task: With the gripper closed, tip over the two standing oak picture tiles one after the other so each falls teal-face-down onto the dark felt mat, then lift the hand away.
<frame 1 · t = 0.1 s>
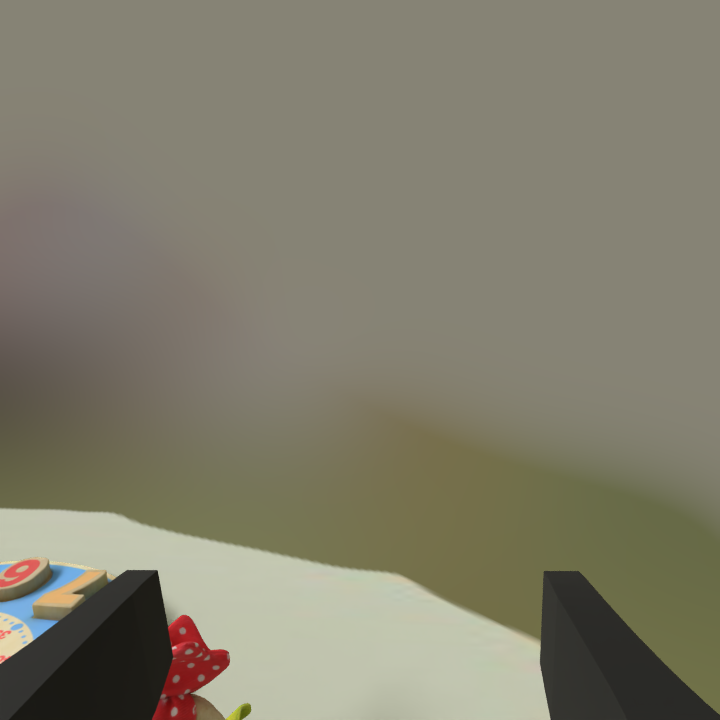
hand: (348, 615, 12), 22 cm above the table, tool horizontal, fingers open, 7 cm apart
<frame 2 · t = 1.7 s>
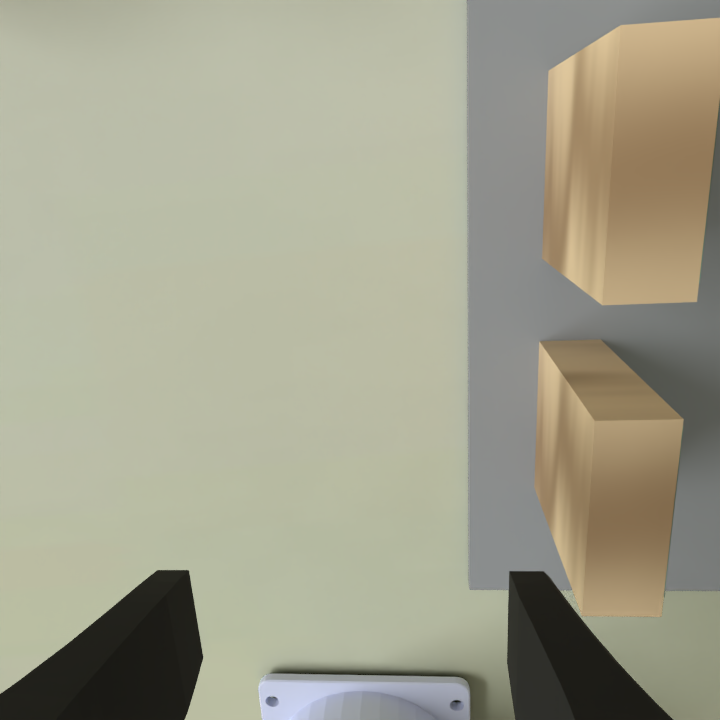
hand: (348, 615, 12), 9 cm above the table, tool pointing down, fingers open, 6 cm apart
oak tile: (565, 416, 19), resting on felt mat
felt mat: (704, 316, 19), on the table
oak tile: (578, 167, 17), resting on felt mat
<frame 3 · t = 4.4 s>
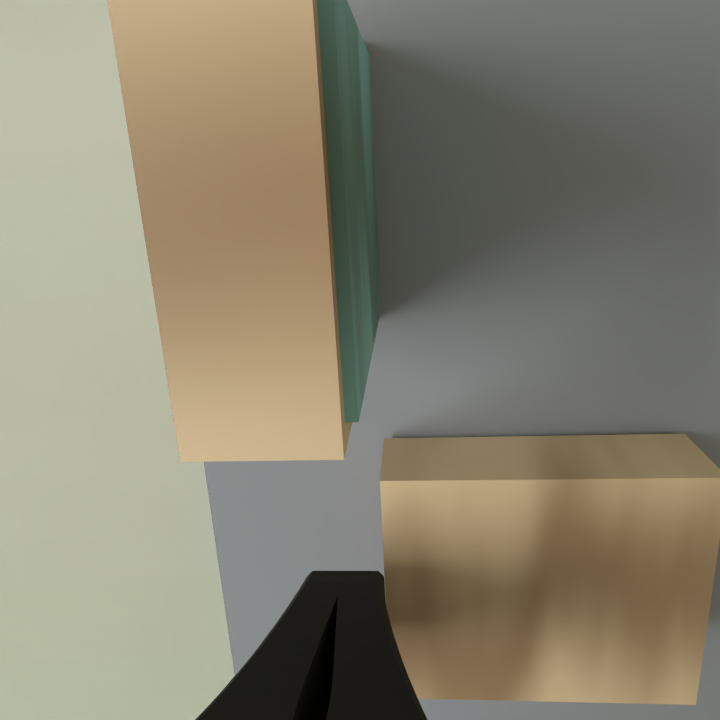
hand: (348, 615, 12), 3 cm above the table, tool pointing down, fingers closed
felt mat: (527, 403, 13), on the table
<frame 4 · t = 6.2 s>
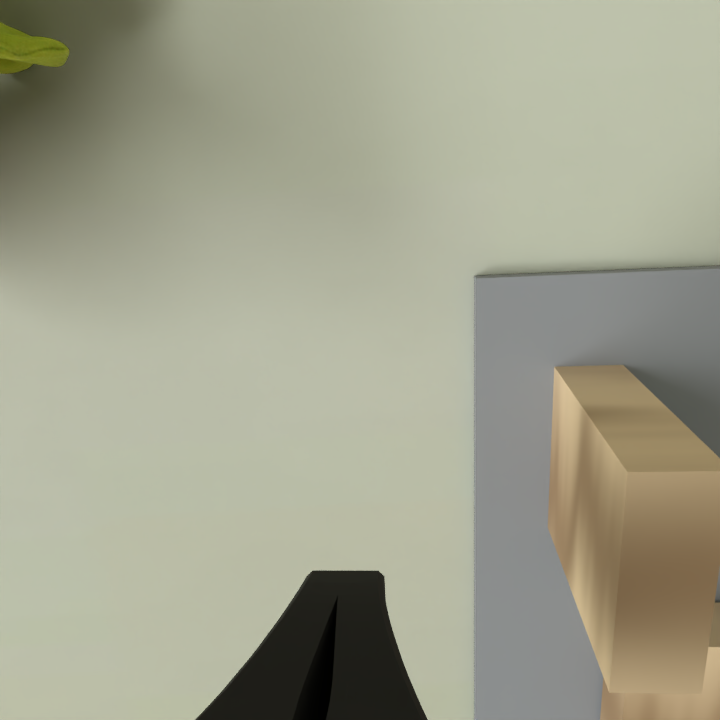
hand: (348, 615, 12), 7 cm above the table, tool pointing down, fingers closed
felt mat: (707, 576, 19), on the table
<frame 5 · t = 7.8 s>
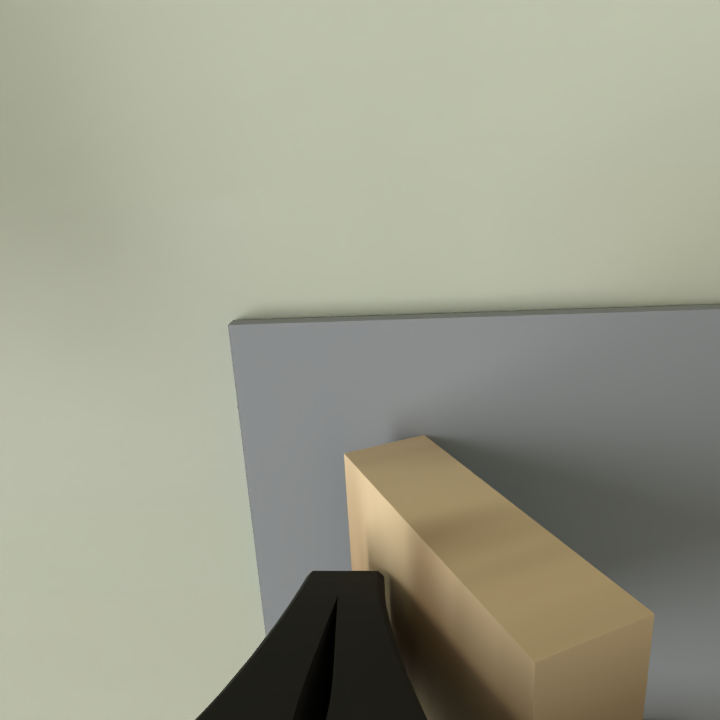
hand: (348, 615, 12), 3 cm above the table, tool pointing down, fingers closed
felt mat: (556, 686, 15), on the table
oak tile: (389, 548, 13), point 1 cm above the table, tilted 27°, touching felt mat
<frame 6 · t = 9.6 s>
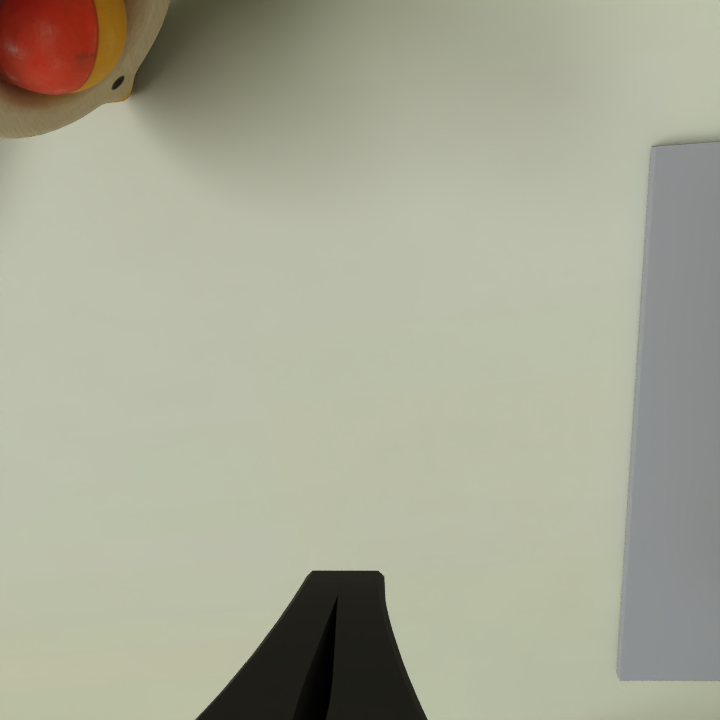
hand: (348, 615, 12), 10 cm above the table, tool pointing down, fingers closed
bird rattle: (155, 3, 18), on the table
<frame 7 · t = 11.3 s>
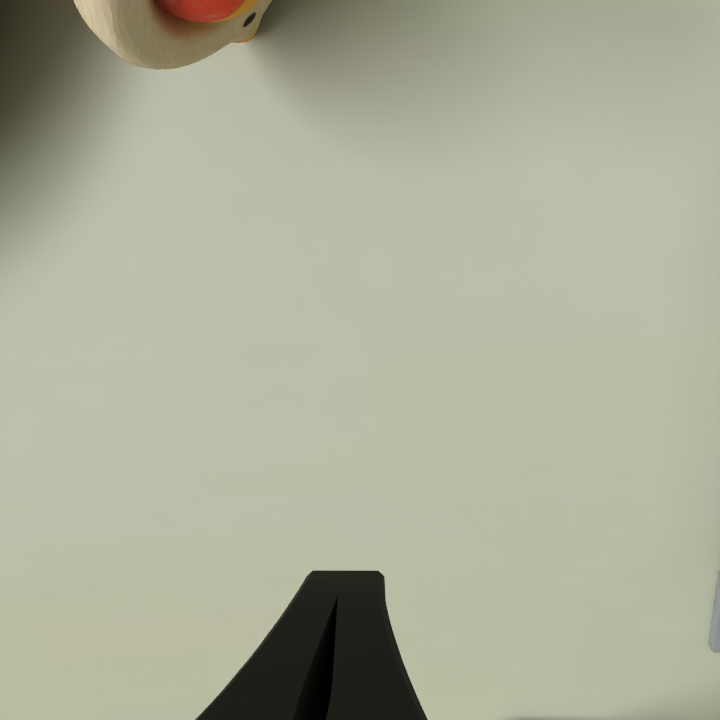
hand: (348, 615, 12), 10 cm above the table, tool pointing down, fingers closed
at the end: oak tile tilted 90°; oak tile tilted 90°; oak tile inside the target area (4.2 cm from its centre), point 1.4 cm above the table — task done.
